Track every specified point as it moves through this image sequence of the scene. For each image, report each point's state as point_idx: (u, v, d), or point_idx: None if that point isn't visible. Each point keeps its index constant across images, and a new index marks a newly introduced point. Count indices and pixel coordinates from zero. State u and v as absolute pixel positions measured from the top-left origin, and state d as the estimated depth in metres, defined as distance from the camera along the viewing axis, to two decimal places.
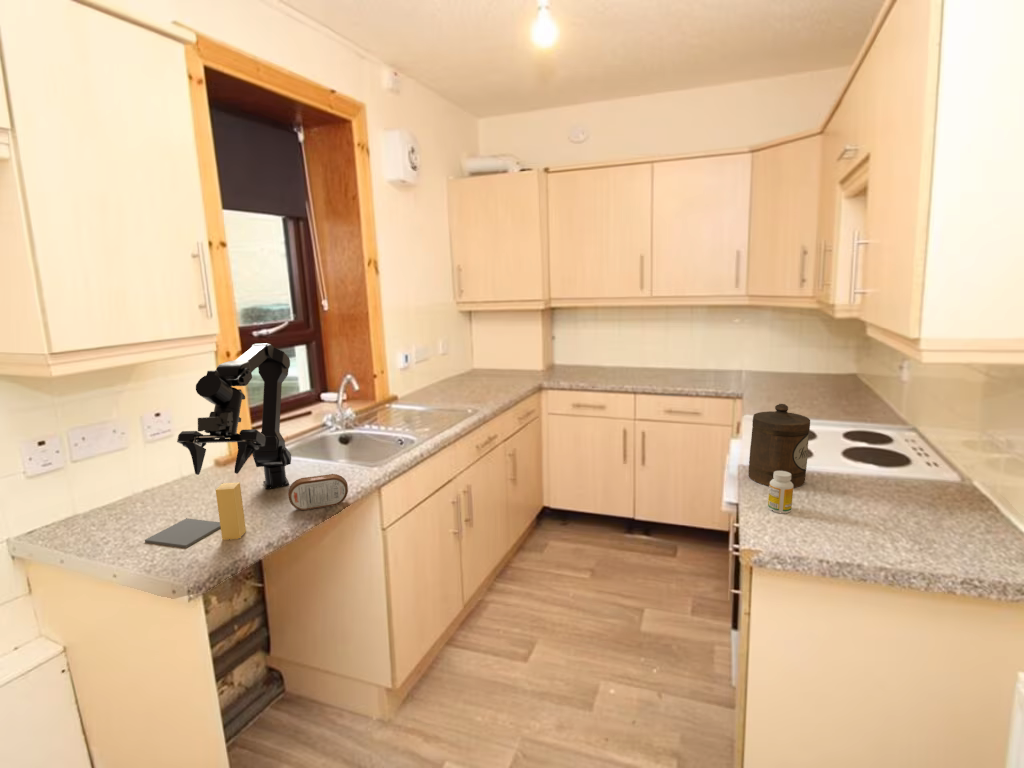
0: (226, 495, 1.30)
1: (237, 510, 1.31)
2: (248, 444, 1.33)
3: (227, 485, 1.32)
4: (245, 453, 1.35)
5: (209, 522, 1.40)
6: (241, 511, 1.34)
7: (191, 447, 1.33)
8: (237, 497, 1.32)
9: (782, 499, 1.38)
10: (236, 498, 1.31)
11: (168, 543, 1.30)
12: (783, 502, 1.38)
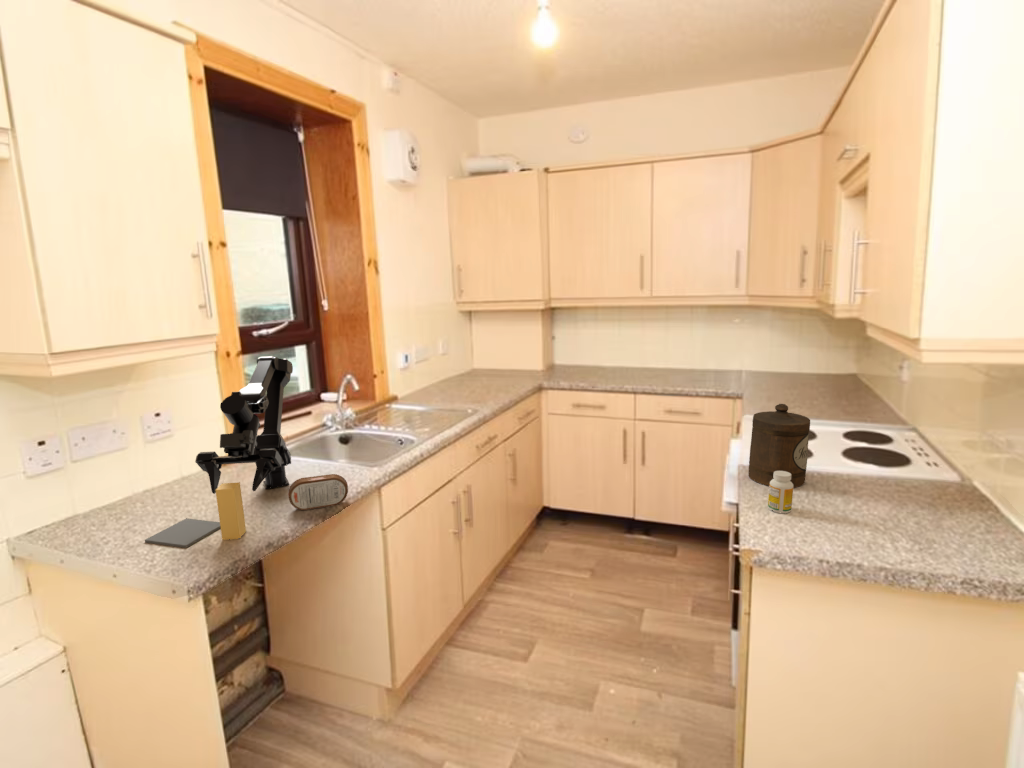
0: (226, 495, 1.30)
1: (237, 510, 1.31)
2: (267, 462, 1.38)
3: (227, 485, 1.32)
4: (262, 472, 1.39)
5: (209, 522, 1.40)
6: (241, 511, 1.34)
7: (209, 466, 1.36)
8: (237, 497, 1.32)
9: (782, 499, 1.38)
10: (236, 498, 1.31)
11: (168, 543, 1.30)
12: (783, 502, 1.38)
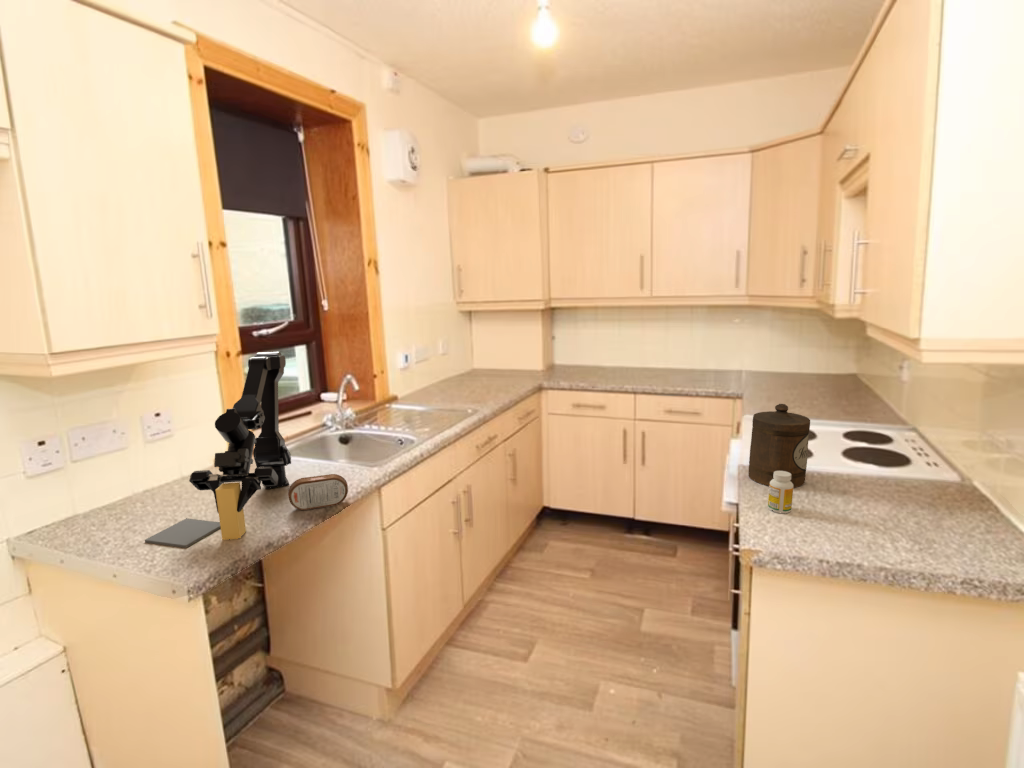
0: (226, 495, 1.30)
1: None
2: (252, 481, 1.34)
3: (227, 485, 1.32)
4: (248, 492, 1.35)
5: (209, 522, 1.40)
6: (241, 511, 1.34)
7: (214, 485, 1.32)
8: (237, 497, 1.32)
9: (782, 499, 1.38)
10: (236, 498, 1.31)
11: (168, 543, 1.30)
12: (783, 502, 1.38)
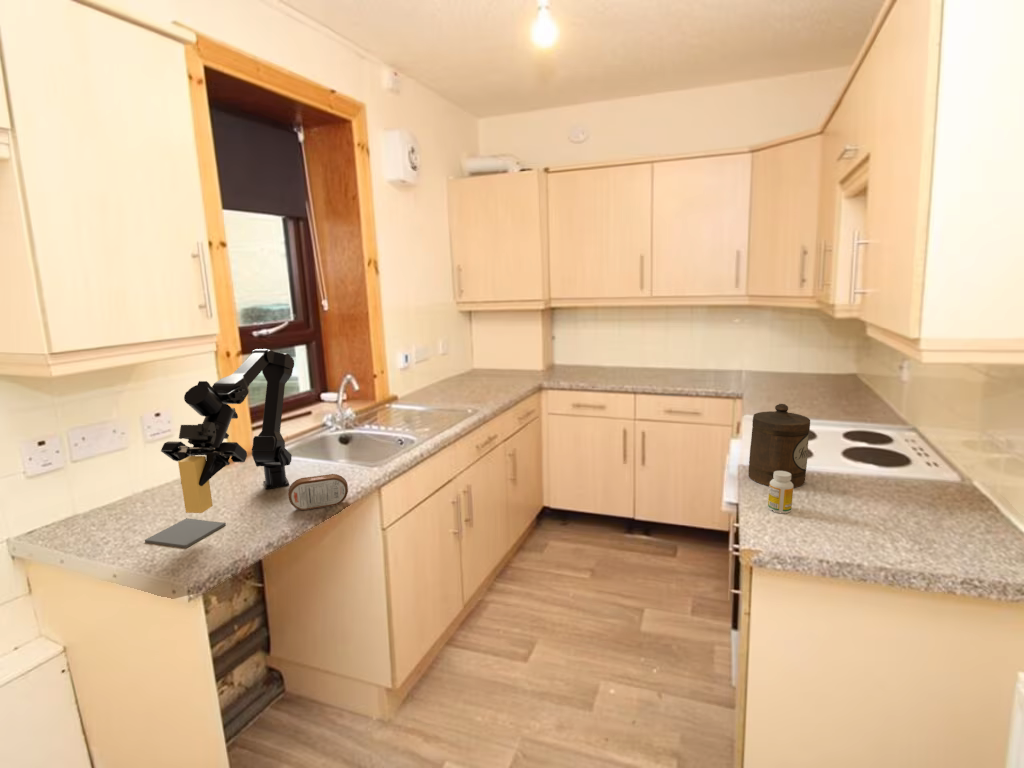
0: (188, 468, 1.28)
1: (198, 484, 1.29)
2: (217, 456, 1.31)
3: (192, 457, 1.31)
4: (214, 466, 1.33)
5: (209, 522, 1.40)
6: (206, 485, 1.32)
7: (182, 457, 1.32)
8: (200, 471, 1.30)
9: (782, 499, 1.38)
10: (198, 472, 1.29)
11: (168, 543, 1.30)
12: (783, 502, 1.38)
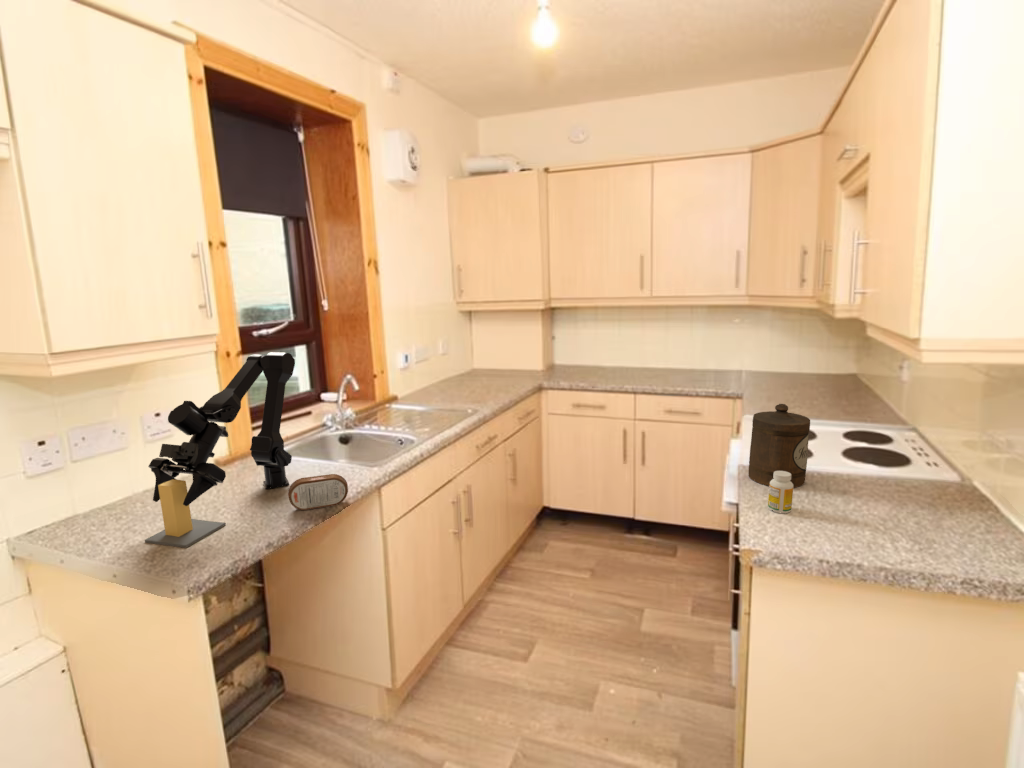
0: (166, 492, 1.31)
1: (175, 509, 1.32)
2: (202, 477, 1.32)
3: (173, 481, 1.33)
4: (201, 487, 1.34)
5: (209, 522, 1.40)
6: (185, 509, 1.34)
7: (157, 473, 1.35)
8: (178, 495, 1.32)
9: (782, 499, 1.38)
10: (176, 496, 1.32)
11: (168, 543, 1.30)
12: (783, 502, 1.38)
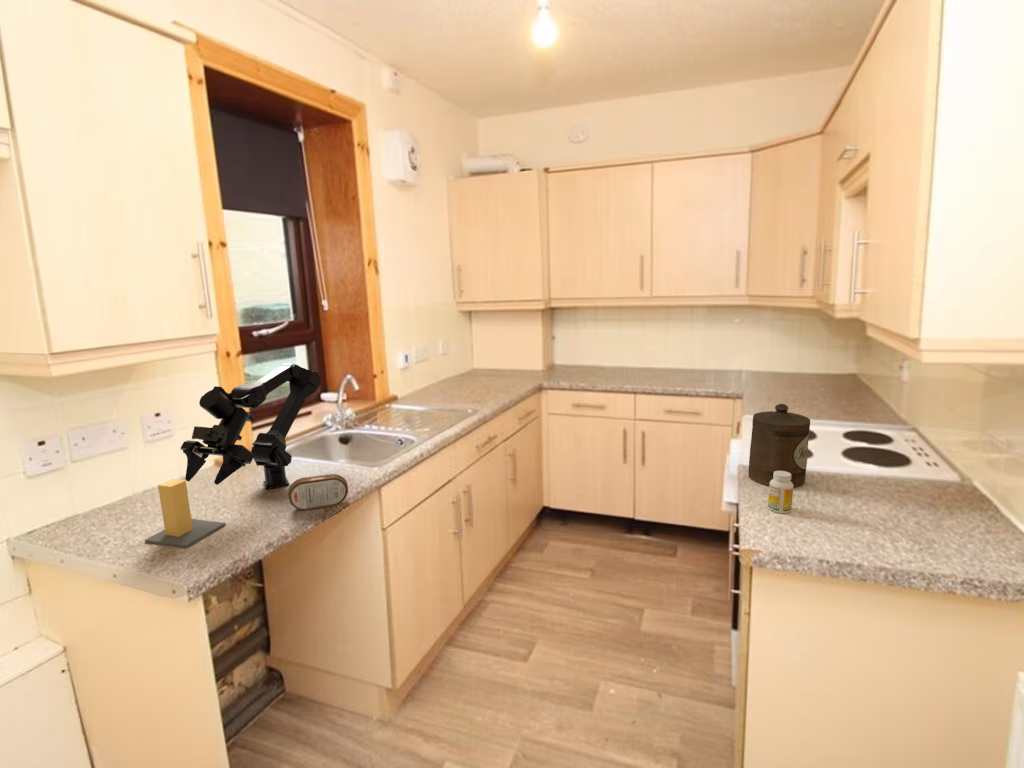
0: (166, 492, 1.31)
1: (175, 509, 1.32)
2: (232, 458, 1.40)
3: (173, 481, 1.33)
4: (230, 467, 1.42)
5: (209, 522, 1.40)
6: (185, 509, 1.34)
7: (189, 455, 1.44)
8: (178, 495, 1.32)
9: (782, 499, 1.38)
10: (176, 496, 1.32)
11: (168, 543, 1.30)
12: (783, 502, 1.38)
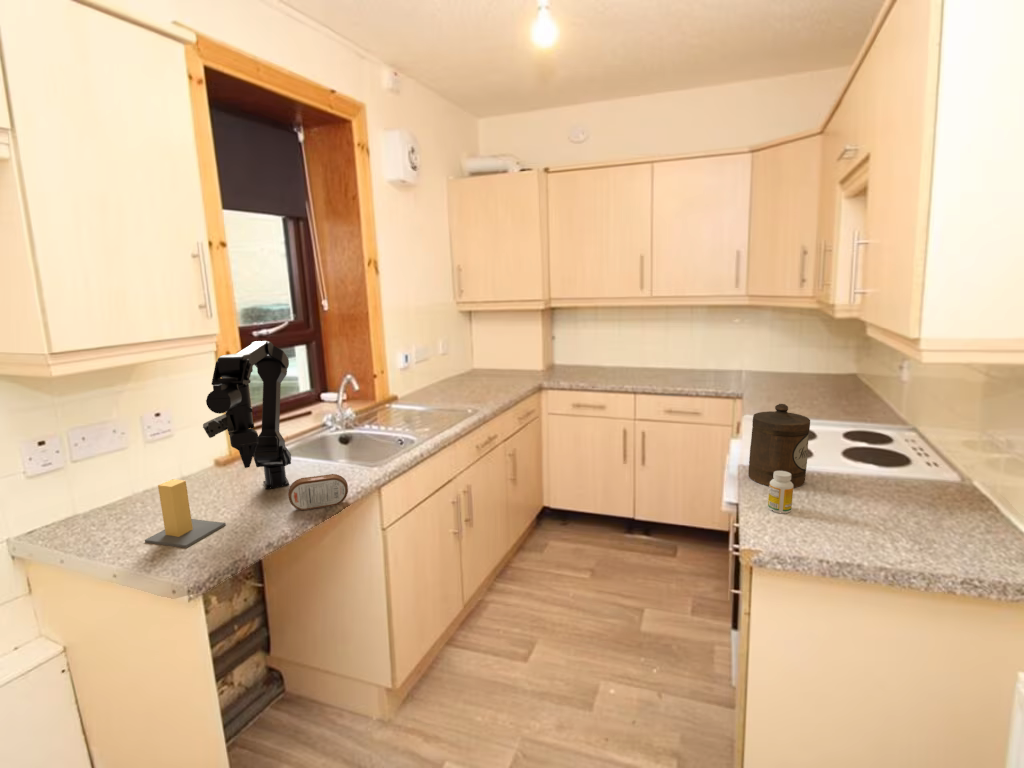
0: (166, 492, 1.31)
1: (175, 509, 1.32)
2: None
3: (173, 481, 1.33)
4: (247, 449, 1.41)
5: (209, 522, 1.40)
6: (185, 509, 1.34)
7: None
8: (178, 495, 1.32)
9: (782, 499, 1.38)
10: (176, 496, 1.32)
11: (168, 543, 1.30)
12: (783, 502, 1.38)
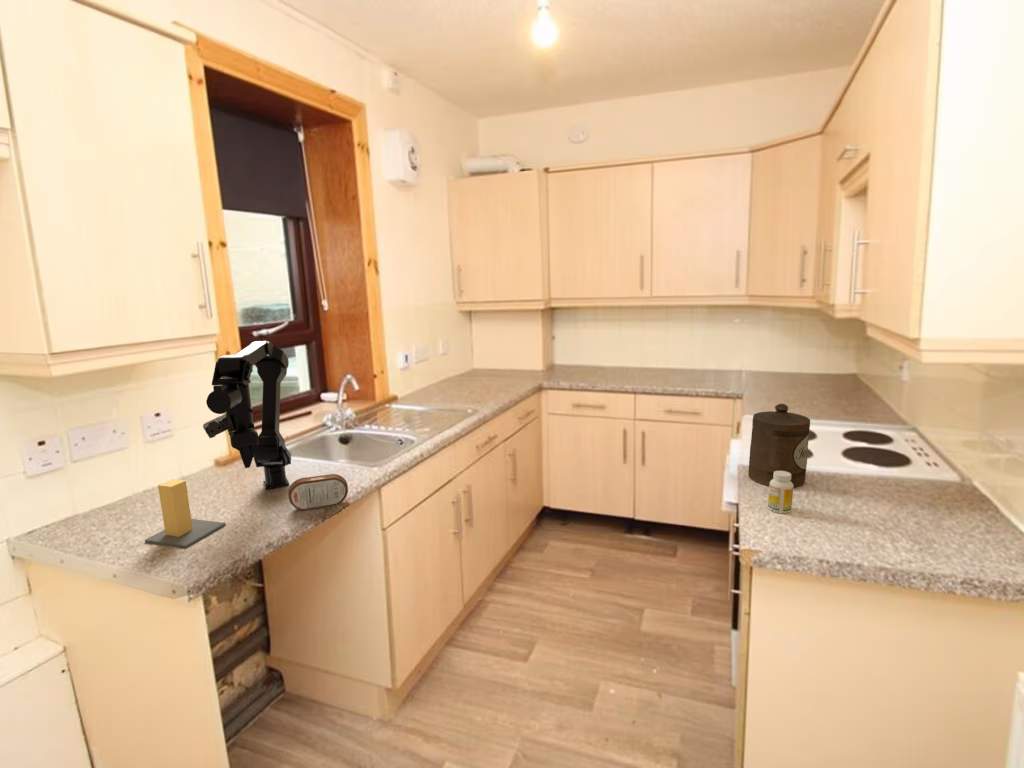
0: (166, 492, 1.31)
1: (175, 509, 1.32)
2: None
3: (173, 481, 1.33)
4: (248, 449, 1.41)
5: (209, 522, 1.40)
6: (185, 509, 1.34)
7: None
8: (178, 495, 1.32)
9: (782, 499, 1.38)
10: (176, 496, 1.32)
11: (168, 543, 1.30)
12: (783, 502, 1.38)
